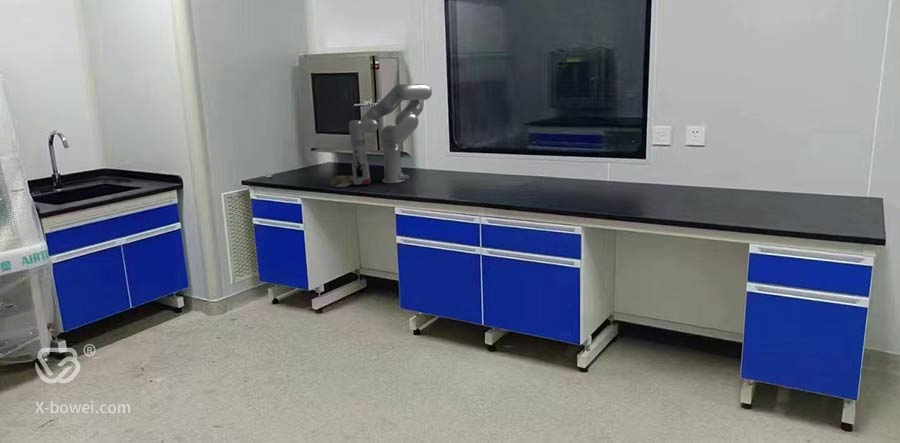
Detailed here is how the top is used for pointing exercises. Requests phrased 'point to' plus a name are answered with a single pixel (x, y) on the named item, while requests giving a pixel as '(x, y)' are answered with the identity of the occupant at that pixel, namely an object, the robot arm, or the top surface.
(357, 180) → the ink box
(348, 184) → the pad
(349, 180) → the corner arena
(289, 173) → the top surface
